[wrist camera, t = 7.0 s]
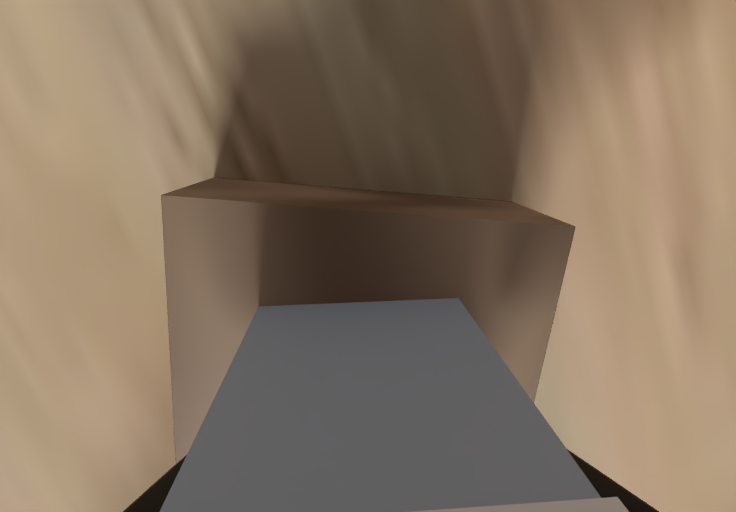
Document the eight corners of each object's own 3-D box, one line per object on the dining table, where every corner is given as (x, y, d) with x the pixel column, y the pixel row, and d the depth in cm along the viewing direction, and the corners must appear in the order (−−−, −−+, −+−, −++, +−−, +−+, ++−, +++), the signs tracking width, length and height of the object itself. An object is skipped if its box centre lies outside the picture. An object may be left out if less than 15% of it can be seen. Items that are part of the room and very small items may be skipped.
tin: (462, 293, 9) (654, 544, 4) (453, 461, 11) (581, 831, 5) (253, 302, 9) (104, 587, 3) (271, 472, 10) (189, 879, 5)
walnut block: (506, 199, 13) (575, 226, 9) (462, 433, 15) (503, 531, 12) (217, 176, 12) (161, 195, 8) (221, 426, 15) (179, 529, 11)
